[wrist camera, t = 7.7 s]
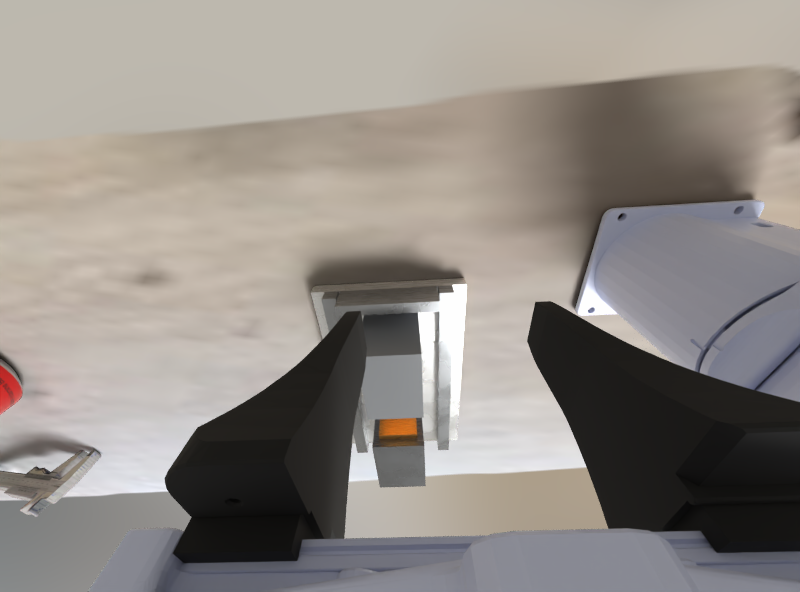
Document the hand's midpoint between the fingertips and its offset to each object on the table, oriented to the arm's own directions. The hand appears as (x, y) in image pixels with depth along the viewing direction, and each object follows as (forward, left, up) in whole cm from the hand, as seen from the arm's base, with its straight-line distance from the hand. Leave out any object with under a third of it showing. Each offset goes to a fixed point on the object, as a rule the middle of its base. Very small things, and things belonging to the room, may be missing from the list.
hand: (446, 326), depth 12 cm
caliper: (+47, +24, -9) cm, 54 cm away
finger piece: (+3, +8, -8) cm, 11 cm away
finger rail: (+3, +12, -9) cm, 15 cm away
